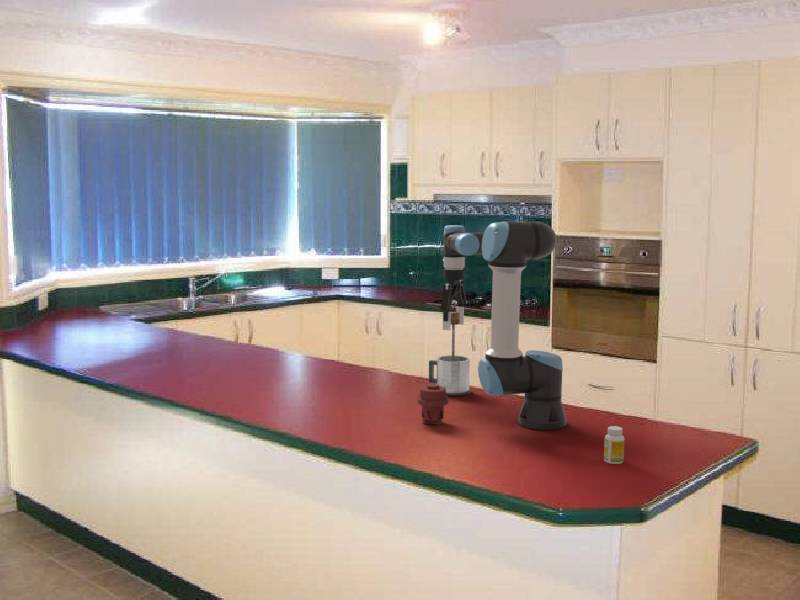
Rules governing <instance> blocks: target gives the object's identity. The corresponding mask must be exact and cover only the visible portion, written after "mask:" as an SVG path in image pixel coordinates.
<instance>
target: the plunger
mask: <svg viewBox="0 0 800 600" xmlns="http://www.w3.org/2000/svg"><path fill="white" fill-rule="evenodd" d="M450 312H451V356H452V362H454V356H456V355H455V348H456V345H455V344H456V343H455V341H456V340H455V338H456V337H455V336H456V335H455V334H456V330H455V329H456V325H460V313H459V312H456V311H450Z"/></svg>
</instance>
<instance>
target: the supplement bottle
mask: <svg viewBox="0 0 800 600" xmlns="http://www.w3.org/2000/svg"><path fill="white" fill-rule="evenodd" d="M623 431H624V430H623V427H620V426H617V425H610V426H608V427H607V433H606V435H605V436H604V443H603V444H604V445H603V446H604V447H603V448H604V449H603V460H604V462H605V463H607V464H611V465H621V464H623V463H624V461H625V459H624V457H625V440H626V439H625V436H624V435H623V433H624V432H623Z"/></svg>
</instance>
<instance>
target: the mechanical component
mask: <svg viewBox="0 0 800 600" xmlns="http://www.w3.org/2000/svg"><path fill="white" fill-rule="evenodd" d="M416 401H417V403H418V405H420V406H421V419H422V424H424V425H428V424H429V425H442V420H443V419H444V418H445V415H444V414H445V408H444V407H445V406H447V405H448V404H449V403H450V402H449V396H446V388H445V387H442V386H439V385H438V384H437V383H428V384H427V385H423V386H421V387H420V388H419V396H417V399H416Z"/></svg>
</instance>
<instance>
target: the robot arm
mask: <svg viewBox="0 0 800 600" xmlns="http://www.w3.org/2000/svg"><path fill="white" fill-rule="evenodd" d="M442 237H443V258H442V262H443V268H444V269H443V272H442V273H443V276H442V277H443V279H444V280H445V281H447V283H443V291H442V295H441V296H442V297H441V302H440V308H439V311H440V312H441V313H442V331H452V325H451V312H452V311H451V308H452V304H453V300H454V299H455V302H456V305H457V306H456V307H455V312H459V313H460V324H459V325H460V326H461V325H463V326H464V324H465V316H464V315H465V308H466V307H467V304H468V303H467V299H466V293H465V292H466V291H465V287H464V283H465V282H464V281H465V269H464V268H465V267H466V263H465V259H466V257H465V256H473V255H482V257H483V259H484V260H485V261H487V262H488V264H487V265H488V267H489V268H490V269H491V271H492V285H491V286H492V291H491V321H490V322H491V323H490V324H491V325H490V326H491V327H490V347H489V348H488V349H486V350H485V357H483V358H481V359H480V360H479V362H478V364H477V373H478V378H479V382H480V386H481V389H483V391H484V392H485V393H486V394H487V395H489V396H502V397H503V396H508V395H523V394H524V400H523V403H522V405H521V408H520V411H519V414H518V424H519V425H520V426H522V427H523V428H527V429H531V430H540V431H552V430H560V429H564V428H566V426H567V415H566V412H565V409H564V404H563V402H562V394H563V393H562V392H563V391H562V390H563V388H562V387H563V371H564V368H563V359H562V357H561V356H560V355H559V354H557V353H552V352H549V351H543V350H534V349H533V350H526V351H525V353H523V351H522V350H521V349H520V348H519V336H520V335H519V334H520V308H521V286H522V285H521V284H522V282H521V280H522V278H521V277H522V272H523V271H524V270H525V269H526V268H527V262H528V261H529V260H531V261H532V260H539V259H542V258H546V257H547V256H549V255H550V254H552V253H553V252H554V250H555V248H556V246H557V244H558V243H557V241H558V240H557V235H556V232H555V230H554V229H553V228H552V227H551V226H549V225H548V224H546V223H544V222H541V221H500V222H499V221H498V222H497V221H496V222H492V223H490V224H489V225H488V226H487V227H486V229H485V230H484V232H466V228H465V226H464V225H460V224H459V225H458V224H457V225H456V224H455V225H449V224H448V225H445V226H444V228H443V235H442ZM527 260H528V261H527Z"/></svg>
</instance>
